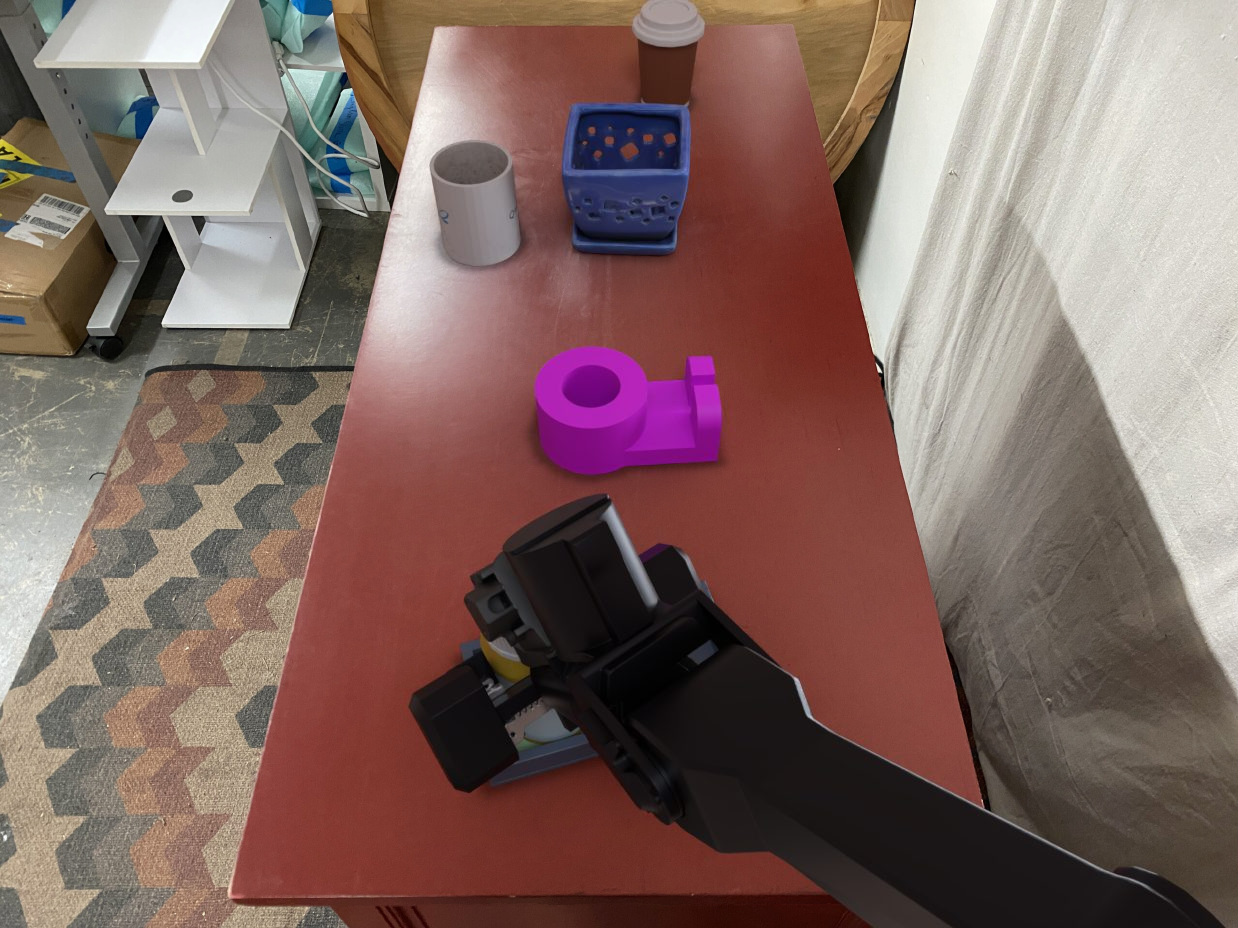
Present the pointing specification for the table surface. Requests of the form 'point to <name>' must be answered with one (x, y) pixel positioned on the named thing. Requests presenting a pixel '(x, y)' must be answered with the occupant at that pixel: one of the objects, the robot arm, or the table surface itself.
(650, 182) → the flower pot
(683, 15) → the coffee cup
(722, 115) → the table surface
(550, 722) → the bottle
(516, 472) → the table surface
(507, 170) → the mug
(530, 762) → the blue-grey divided tray
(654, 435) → the tape dispenser
